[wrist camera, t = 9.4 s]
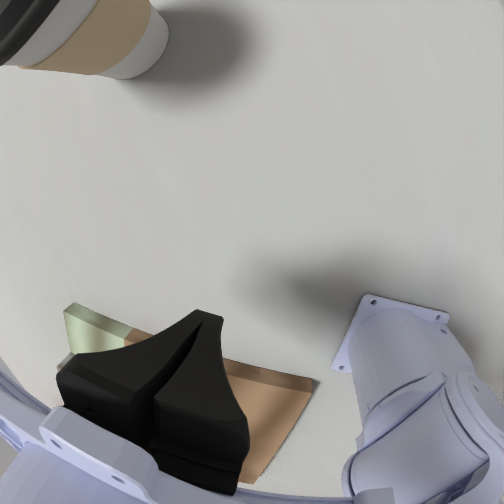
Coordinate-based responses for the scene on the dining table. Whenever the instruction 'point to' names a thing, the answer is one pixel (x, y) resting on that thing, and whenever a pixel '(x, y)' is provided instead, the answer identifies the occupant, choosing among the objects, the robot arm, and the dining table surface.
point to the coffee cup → (82, 36)
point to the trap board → (239, 376)
